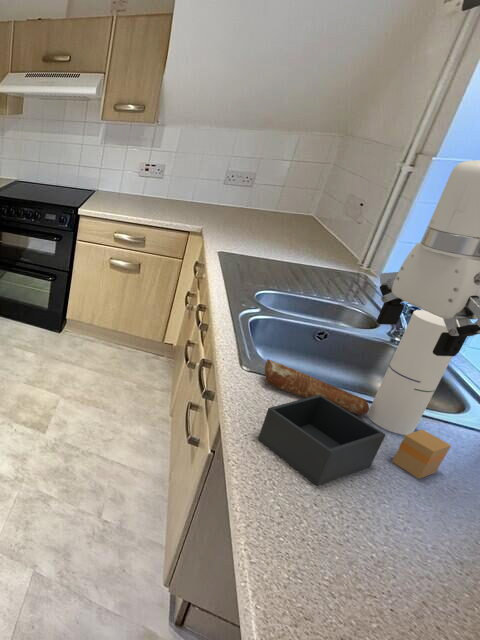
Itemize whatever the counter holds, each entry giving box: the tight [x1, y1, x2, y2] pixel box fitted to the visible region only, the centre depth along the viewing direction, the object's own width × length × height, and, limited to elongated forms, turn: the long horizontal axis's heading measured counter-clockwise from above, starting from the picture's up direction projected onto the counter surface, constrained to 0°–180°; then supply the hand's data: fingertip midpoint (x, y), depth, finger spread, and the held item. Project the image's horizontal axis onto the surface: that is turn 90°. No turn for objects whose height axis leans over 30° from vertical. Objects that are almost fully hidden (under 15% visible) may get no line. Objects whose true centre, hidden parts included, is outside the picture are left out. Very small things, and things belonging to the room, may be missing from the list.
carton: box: [392, 428, 452, 480], centre depth 76 cm, size 5×4×6 cm
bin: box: [257, 395, 386, 486], centre depth 78 cm, size 14×11×8 cm
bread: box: [264, 358, 370, 415], centre depth 94 cm, size 6×19×6 cm, turn 50°
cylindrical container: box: [367, 309, 460, 436], centre depth 83 cm, size 7×7×25 cm
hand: (412, 338), depth 70 cm, fingers open, 9 cm apart
